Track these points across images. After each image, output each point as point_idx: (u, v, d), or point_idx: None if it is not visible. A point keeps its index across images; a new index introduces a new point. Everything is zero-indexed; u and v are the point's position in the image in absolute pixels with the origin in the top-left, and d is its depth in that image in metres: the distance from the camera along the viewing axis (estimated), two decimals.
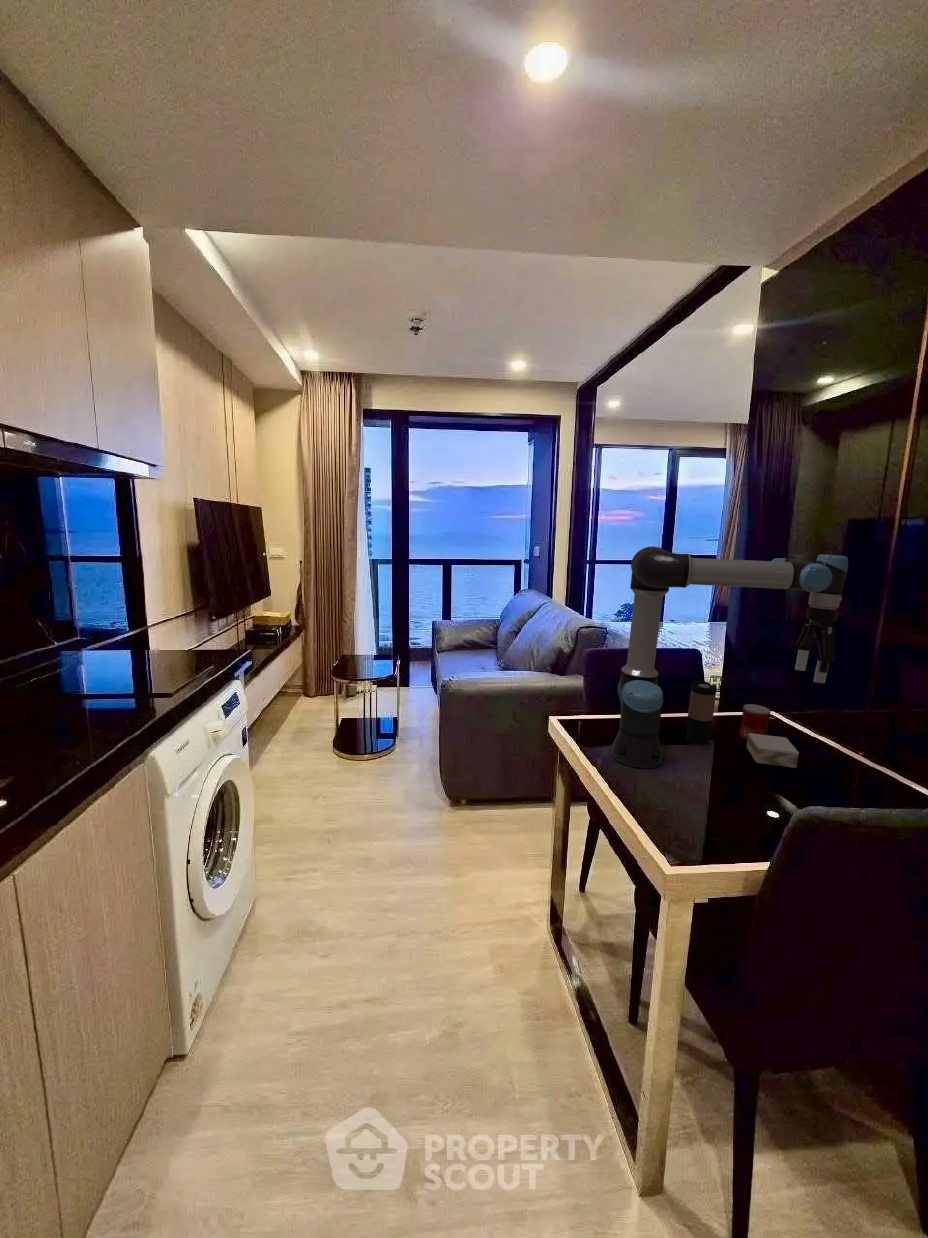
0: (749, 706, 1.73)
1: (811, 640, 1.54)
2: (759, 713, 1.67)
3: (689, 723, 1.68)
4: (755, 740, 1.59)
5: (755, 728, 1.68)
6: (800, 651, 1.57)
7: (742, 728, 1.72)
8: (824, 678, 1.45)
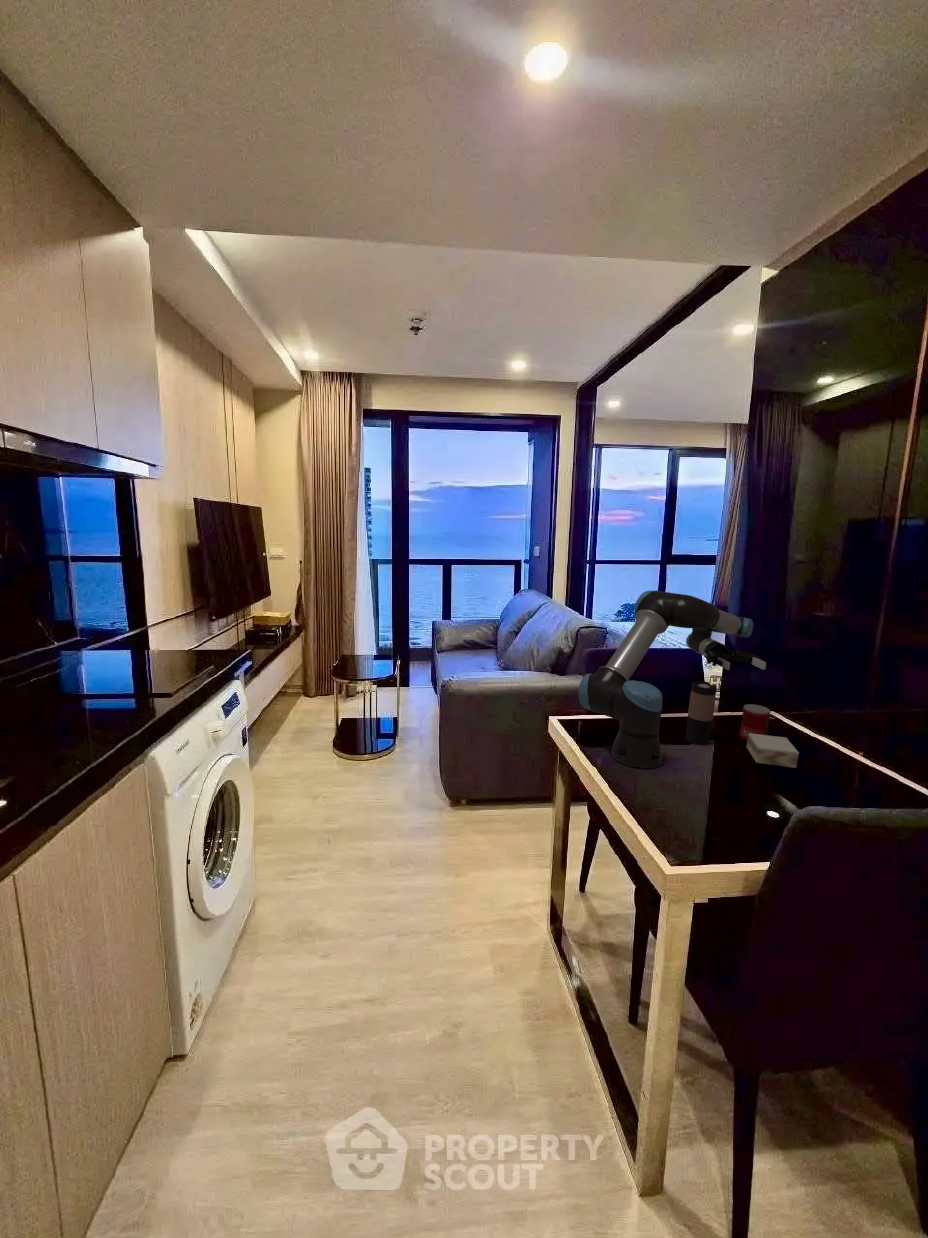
0: (749, 706, 1.73)
1: None
2: (759, 713, 1.67)
3: (689, 723, 1.68)
4: (755, 740, 1.59)
5: (755, 728, 1.68)
6: None
7: (742, 728, 1.72)
8: None
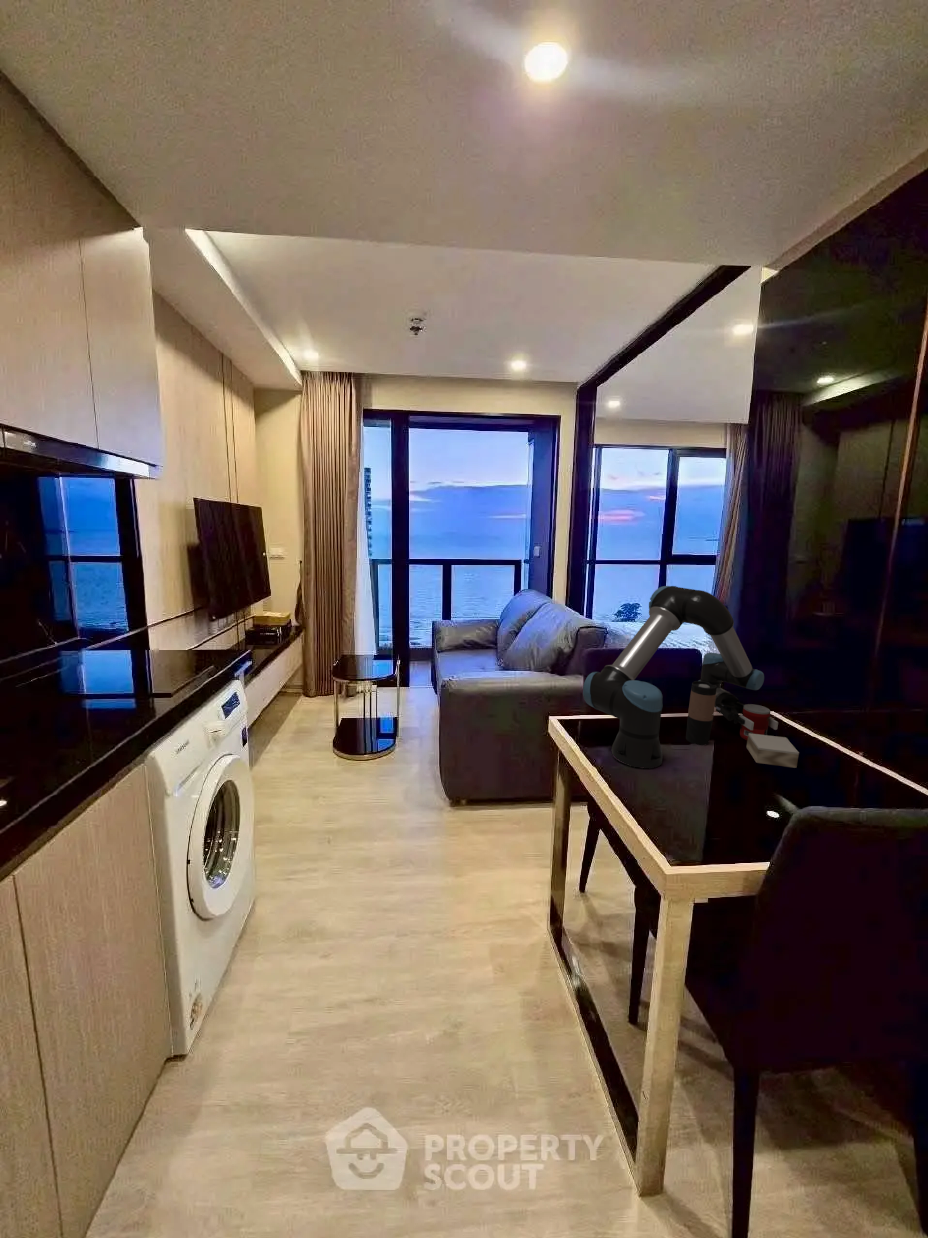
0: (749, 706, 1.73)
1: None
2: (759, 713, 1.67)
3: (689, 723, 1.68)
4: (755, 740, 1.59)
5: (755, 728, 1.68)
6: None
7: (742, 728, 1.72)
8: None
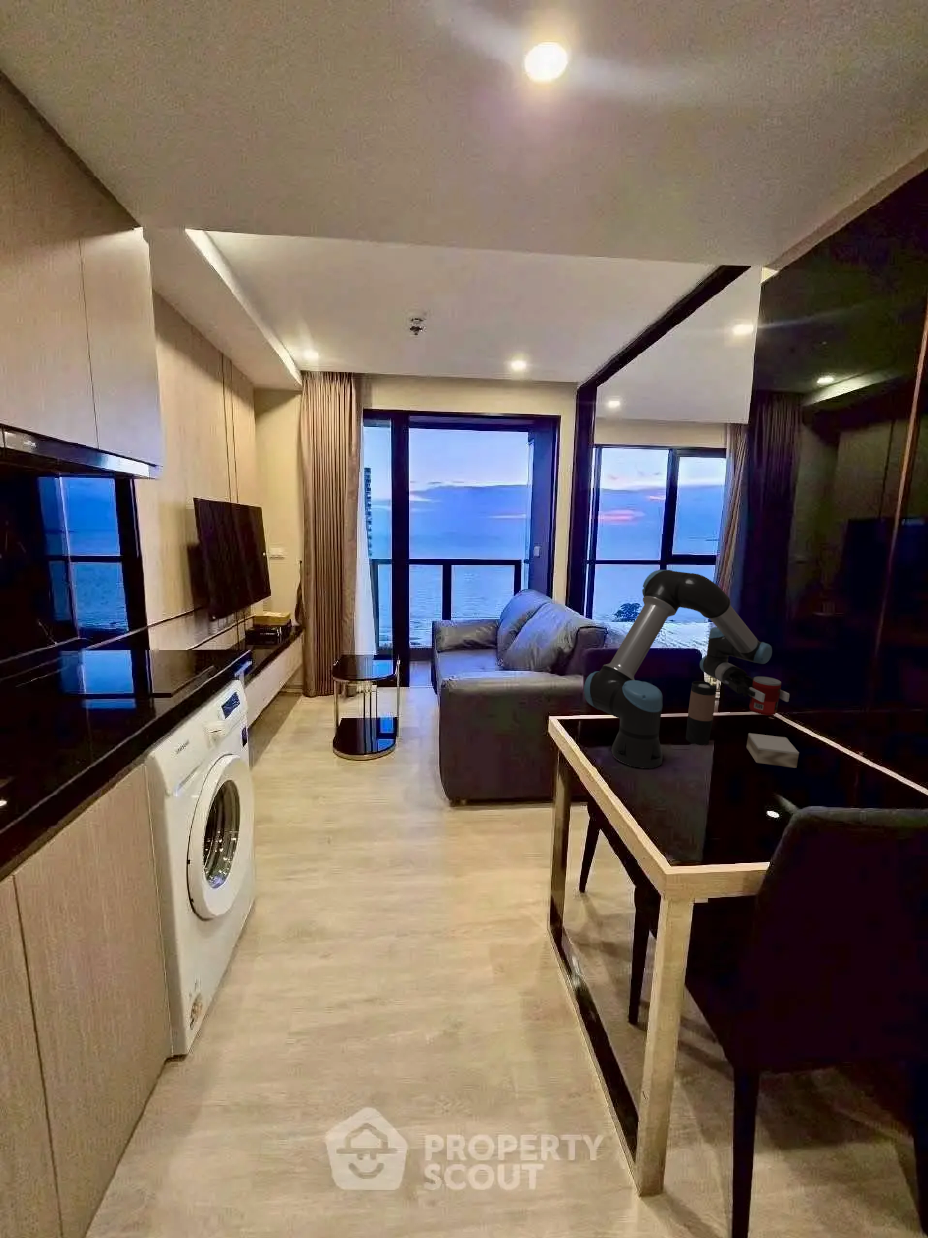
0: (759, 678, 1.68)
1: None
2: (770, 684, 1.62)
3: (689, 723, 1.68)
4: (755, 740, 1.59)
5: (766, 700, 1.63)
6: None
7: (752, 701, 1.67)
8: None
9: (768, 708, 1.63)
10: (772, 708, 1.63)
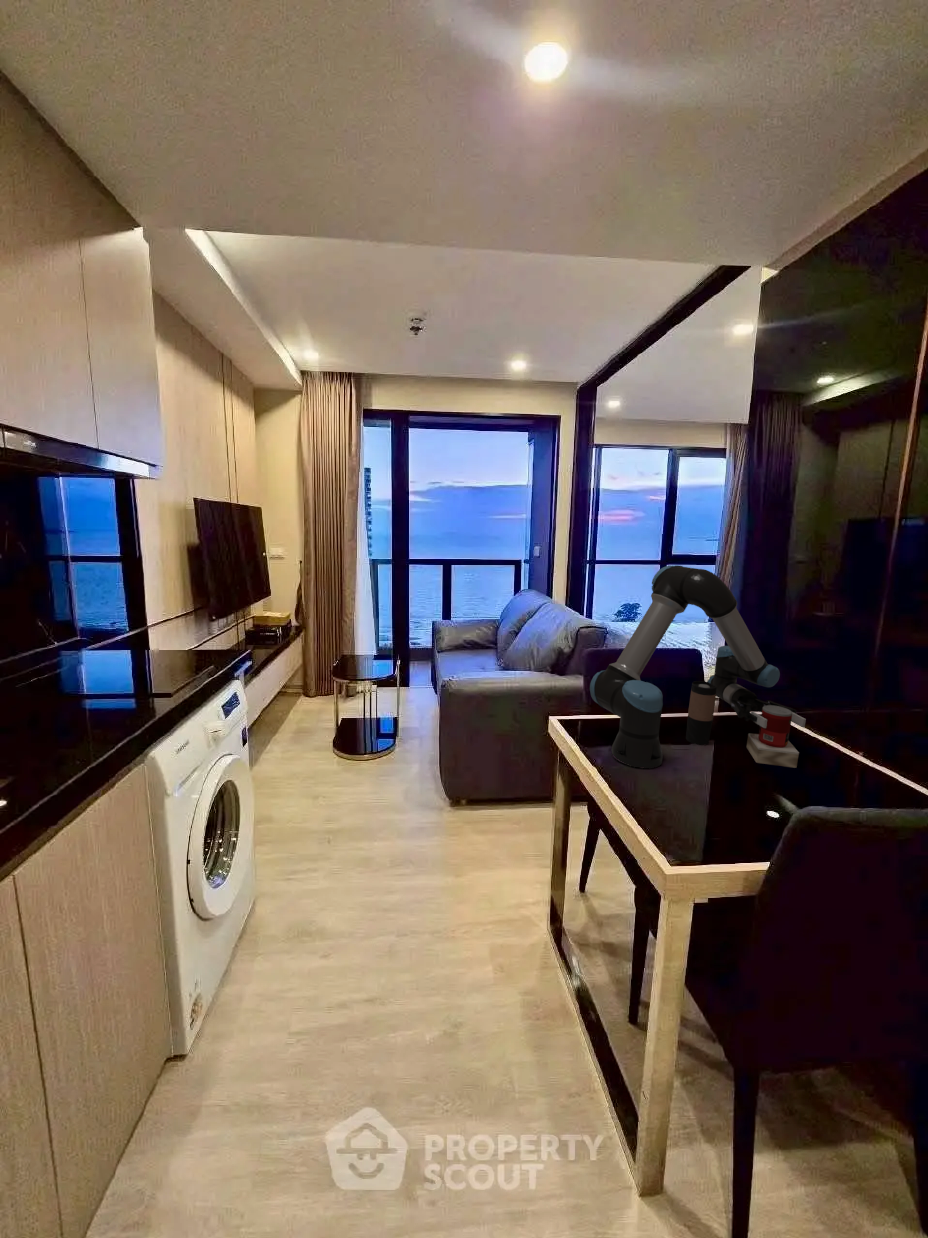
0: (769, 707, 1.58)
1: None
2: (780, 715, 1.52)
3: (689, 723, 1.68)
4: (755, 740, 1.59)
5: (776, 731, 1.54)
6: None
7: (761, 731, 1.57)
8: None
9: (778, 740, 1.54)
10: (783, 740, 1.54)
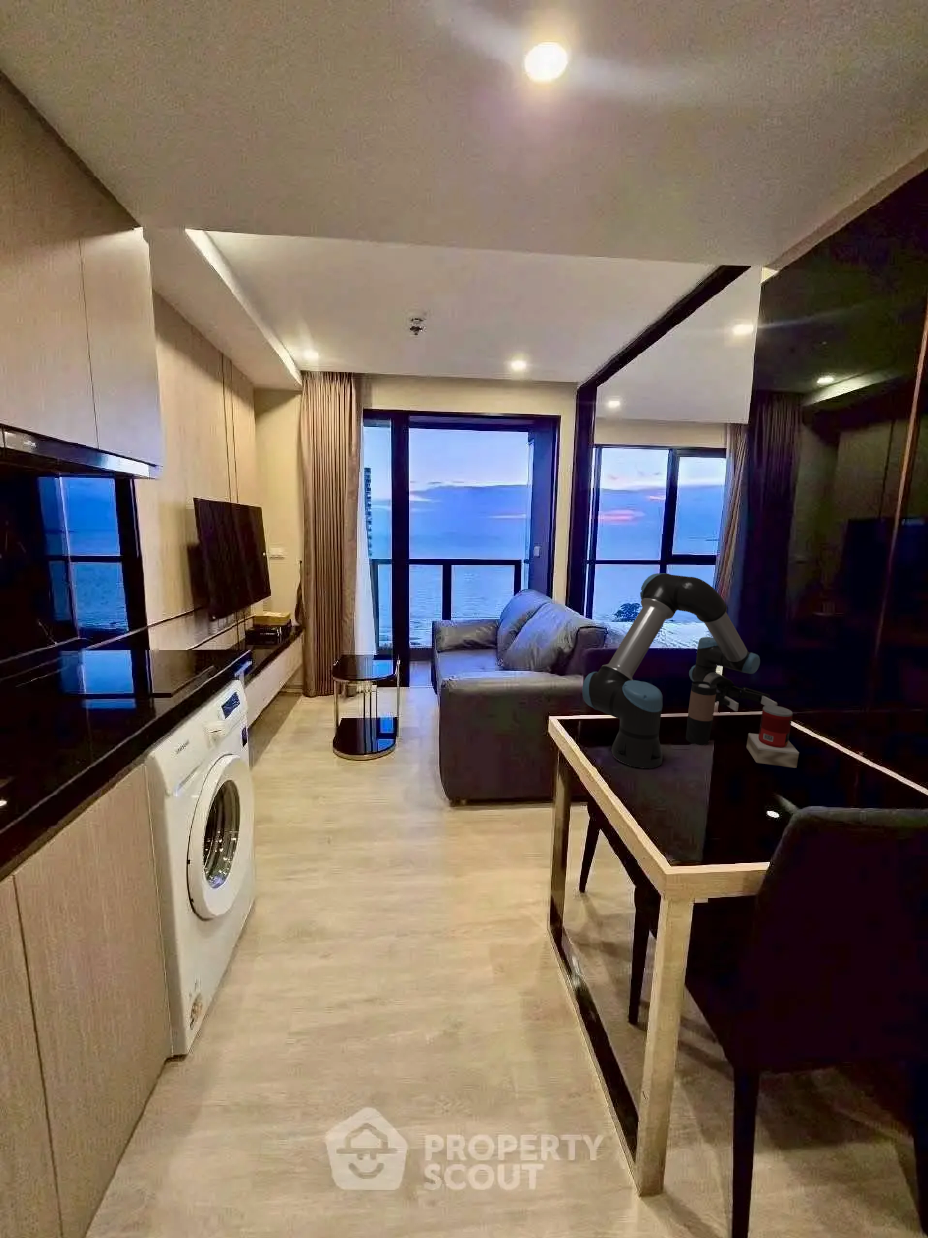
0: (769, 707, 1.58)
1: None
2: (780, 715, 1.52)
3: (689, 723, 1.68)
4: (755, 740, 1.59)
5: (776, 731, 1.54)
6: None
7: (761, 731, 1.57)
8: None
9: (778, 740, 1.54)
10: (783, 740, 1.54)
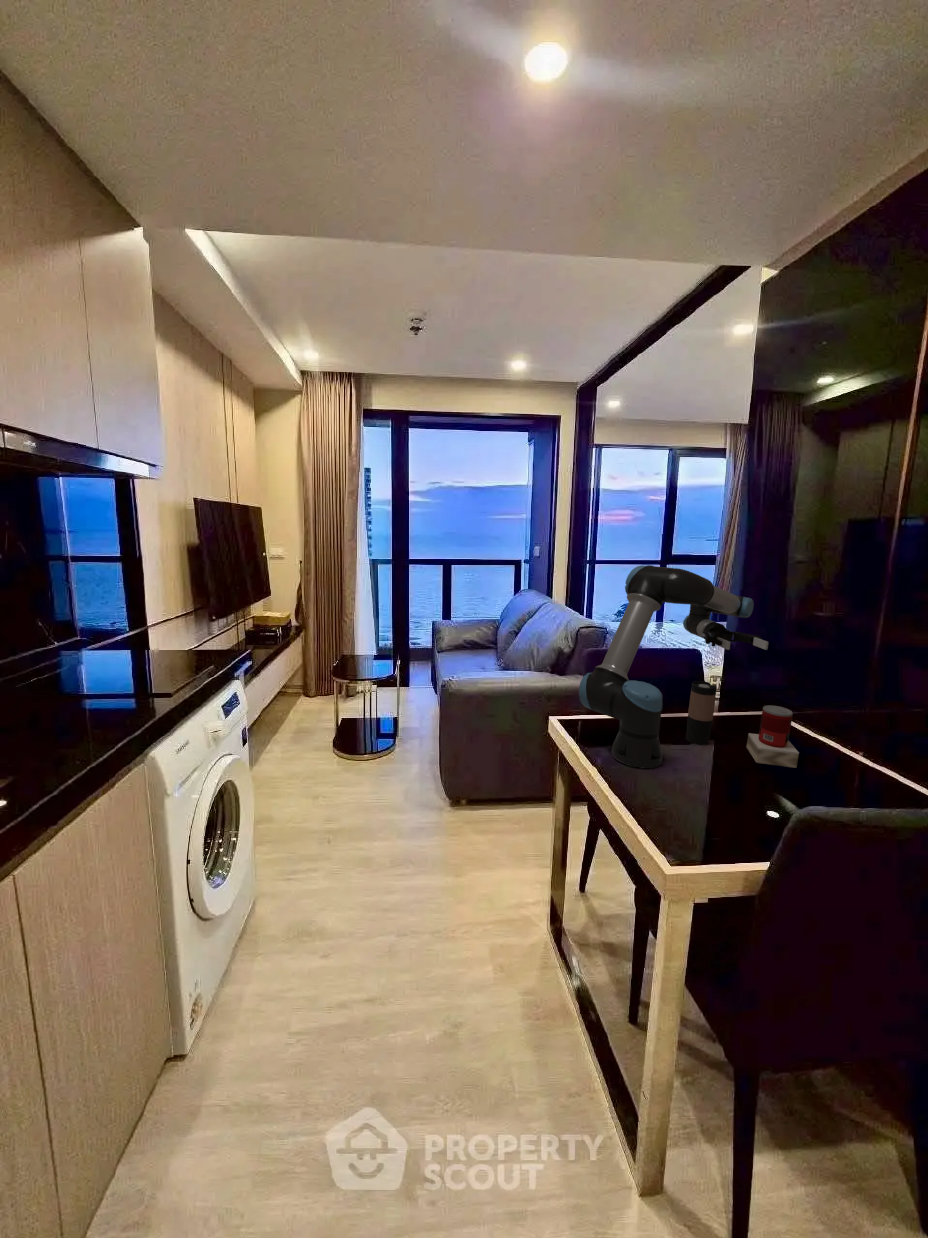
0: (769, 707, 1.58)
1: None
2: (780, 715, 1.52)
3: (689, 723, 1.68)
4: (755, 740, 1.59)
5: (776, 731, 1.54)
6: None
7: (761, 731, 1.57)
8: None
9: (778, 740, 1.54)
10: (783, 740, 1.54)
